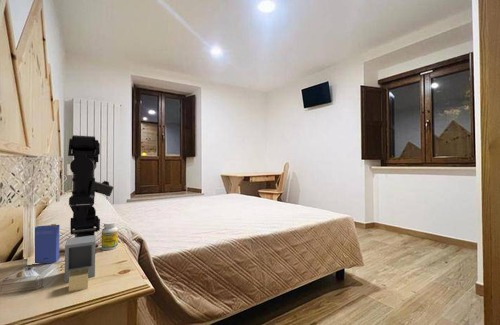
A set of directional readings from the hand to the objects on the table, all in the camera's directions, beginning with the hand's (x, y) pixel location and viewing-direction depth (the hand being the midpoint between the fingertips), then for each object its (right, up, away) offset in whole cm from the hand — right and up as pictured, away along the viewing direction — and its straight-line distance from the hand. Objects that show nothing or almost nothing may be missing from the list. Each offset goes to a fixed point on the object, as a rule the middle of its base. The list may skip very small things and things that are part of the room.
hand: (83, 222), depth 80 cm
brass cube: (+9, -13, -15) cm, 22 cm away
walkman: (-12, -13, -1) cm, 18 cm away
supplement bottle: (+1, -13, +14) cm, 19 cm away
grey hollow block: (+5, -13, -8) cm, 16 cm away
